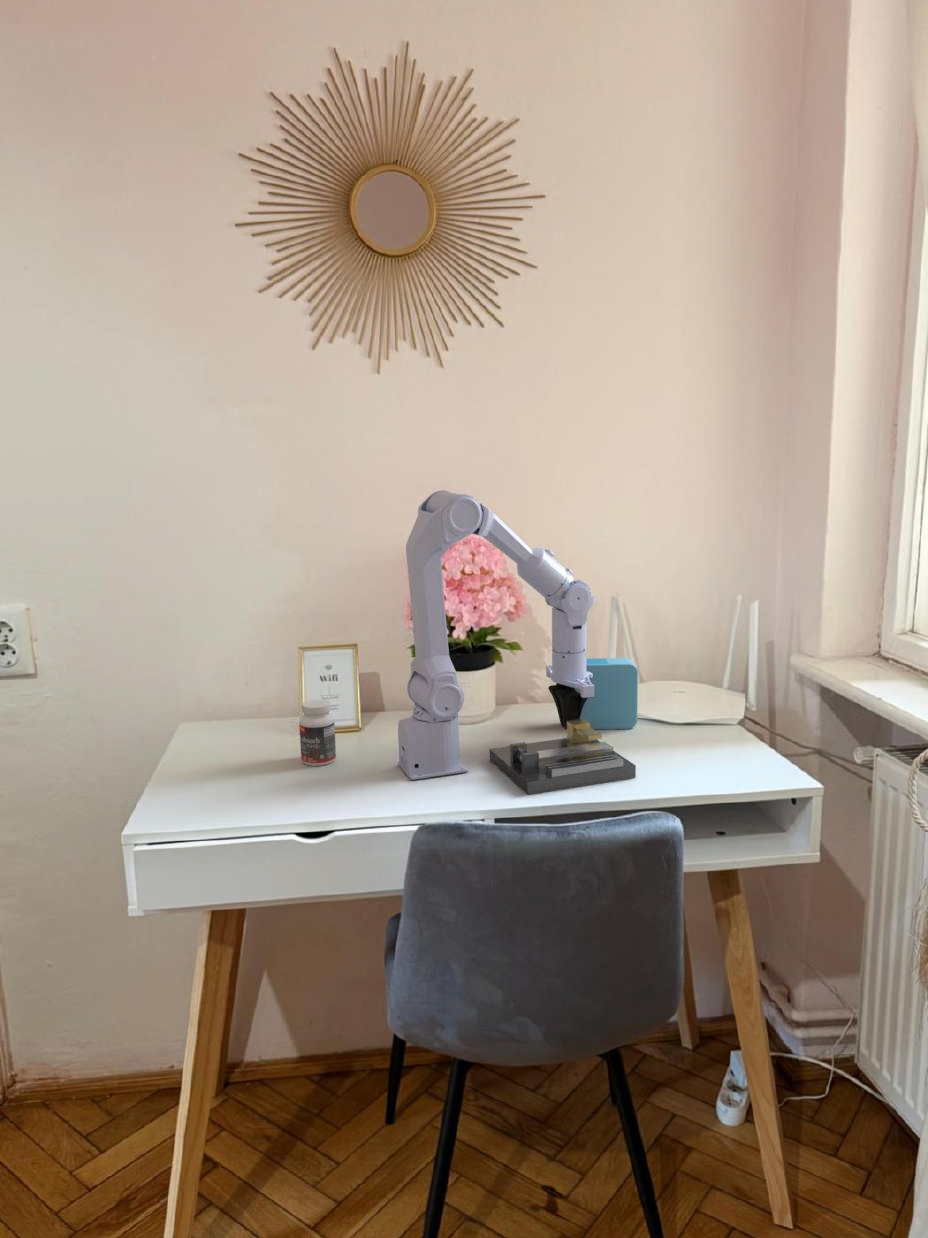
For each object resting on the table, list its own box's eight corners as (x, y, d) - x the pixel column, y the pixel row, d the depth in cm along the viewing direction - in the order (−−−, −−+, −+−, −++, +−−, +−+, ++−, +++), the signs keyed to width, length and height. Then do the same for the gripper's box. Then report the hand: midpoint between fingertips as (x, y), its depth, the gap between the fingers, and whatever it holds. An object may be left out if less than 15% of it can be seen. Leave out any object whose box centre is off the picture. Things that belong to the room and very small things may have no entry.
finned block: (527, 794, 149) (527, 763, 148) (489, 760, 164) (489, 731, 163) (635, 777, 155) (635, 746, 154) (589, 746, 169) (589, 717, 168)
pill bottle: (294, 764, 164) (290, 705, 162) (315, 753, 169) (311, 696, 167) (323, 769, 162) (319, 710, 160) (343, 758, 167) (340, 700, 165)
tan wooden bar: (524, 766, 153) (524, 757, 153) (516, 760, 156) (516, 751, 155) (613, 753, 158) (613, 745, 157) (604, 747, 161) (604, 739, 160)
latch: (586, 753, 160) (586, 734, 159) (566, 739, 167) (566, 721, 166) (603, 750, 161) (603, 731, 160) (583, 737, 168) (583, 718, 167)
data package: (633, 721, 182) (634, 657, 180) (637, 729, 178) (638, 663, 175) (567, 722, 182) (567, 658, 180) (569, 730, 178) (569, 665, 175)
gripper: (611, 656, 161) (610, 737, 164) (572, 638, 174) (572, 713, 177) (571, 661, 159) (571, 743, 161) (534, 642, 172) (535, 717, 175)
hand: (569, 727), depth 169 cm, fingers closed
